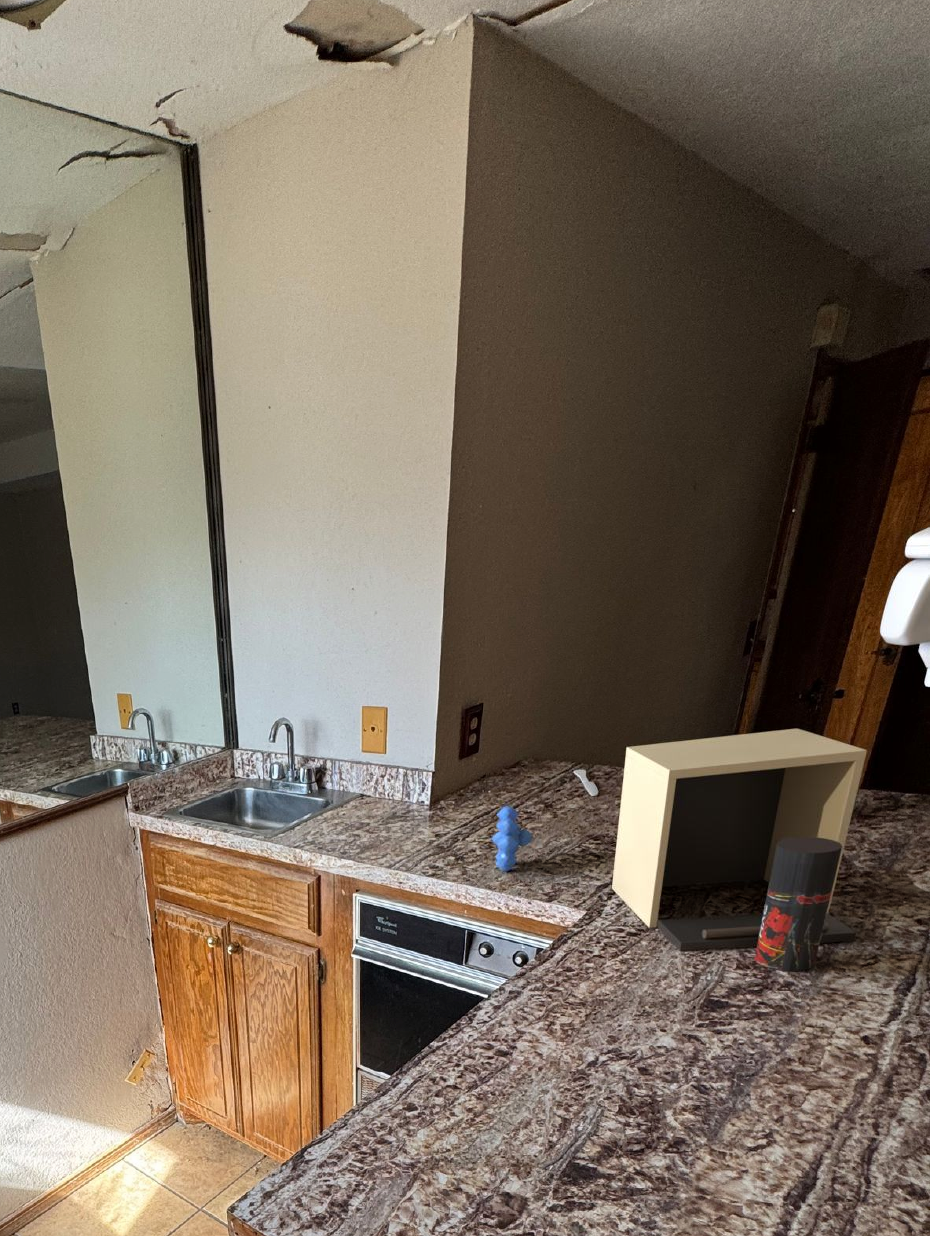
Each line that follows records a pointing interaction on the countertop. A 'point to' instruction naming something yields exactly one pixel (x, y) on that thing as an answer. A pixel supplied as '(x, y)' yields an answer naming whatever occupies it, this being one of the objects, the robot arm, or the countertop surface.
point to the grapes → (509, 838)
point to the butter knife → (587, 782)
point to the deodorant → (797, 903)
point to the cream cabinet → (727, 821)
